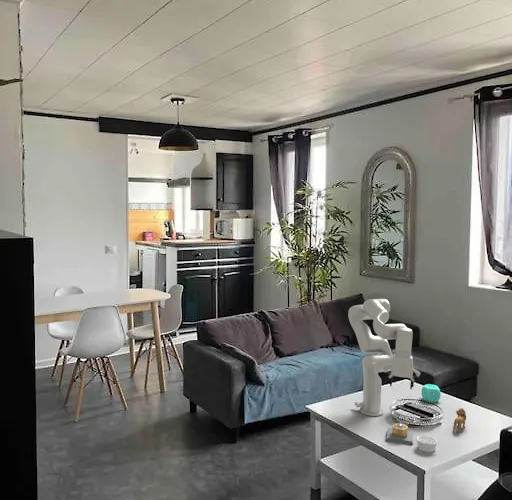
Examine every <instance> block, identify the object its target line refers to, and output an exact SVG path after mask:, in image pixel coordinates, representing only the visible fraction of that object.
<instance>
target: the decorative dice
mask: <svg viewBox="0 0 512 500" xmlns="http://www.w3.org/2000/svg"><path fill="white" fill-rule="evenodd" d="M441 396H442V395H441V389H440V388H439V386H438V385H435V384H430V383H428V384H424V385H422V388H421V398H422V399H423V401H425V402H427V401H428V402H427V403H437V402H439V401H440V399H441Z"/></svg>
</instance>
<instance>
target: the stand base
mask: <svg viewBox="0 0 512 500" xmlns="http://www.w3.org/2000/svg"><path fill="white" fill-rule="evenodd" d="M392 429H393V427H388V428H387V431H386V440H385V441H387V442H392V443H393V442H394V443H400V444H406V445H413V443H414V440H413V439H414V437H413V436H414V430H408V432H407V437H404V438H400V437H396V436H394V435H392Z"/></svg>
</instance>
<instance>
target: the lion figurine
mask: <svg viewBox="0 0 512 500" xmlns="http://www.w3.org/2000/svg"><path fill="white" fill-rule="evenodd" d="M455 414H456V415H457V417H455V419H454V422H453V427H452V432H453V433H456V434H458V433H459V432H460V433H463V430H462V428H463V429H465V428H466V426H465V425H466V421H467V415H466V414H467V413H466V411H465V409H464V408H461V407H459V408H458V409H457V410H456V411H455ZM457 427H458V428H457ZM458 430H459V432H458Z"/></svg>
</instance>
